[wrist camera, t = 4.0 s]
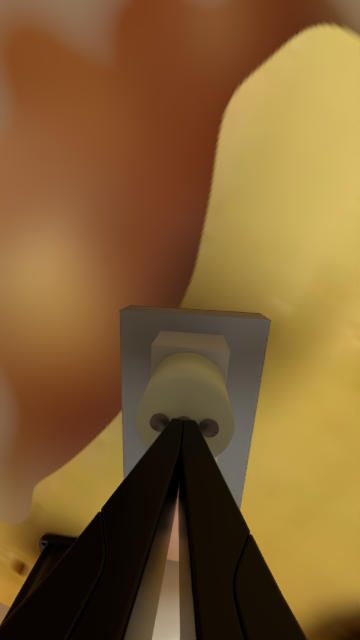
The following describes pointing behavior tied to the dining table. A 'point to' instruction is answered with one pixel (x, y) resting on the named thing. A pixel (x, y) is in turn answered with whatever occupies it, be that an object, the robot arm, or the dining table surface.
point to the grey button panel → (204, 339)
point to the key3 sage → (187, 400)
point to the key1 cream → (168, 605)
